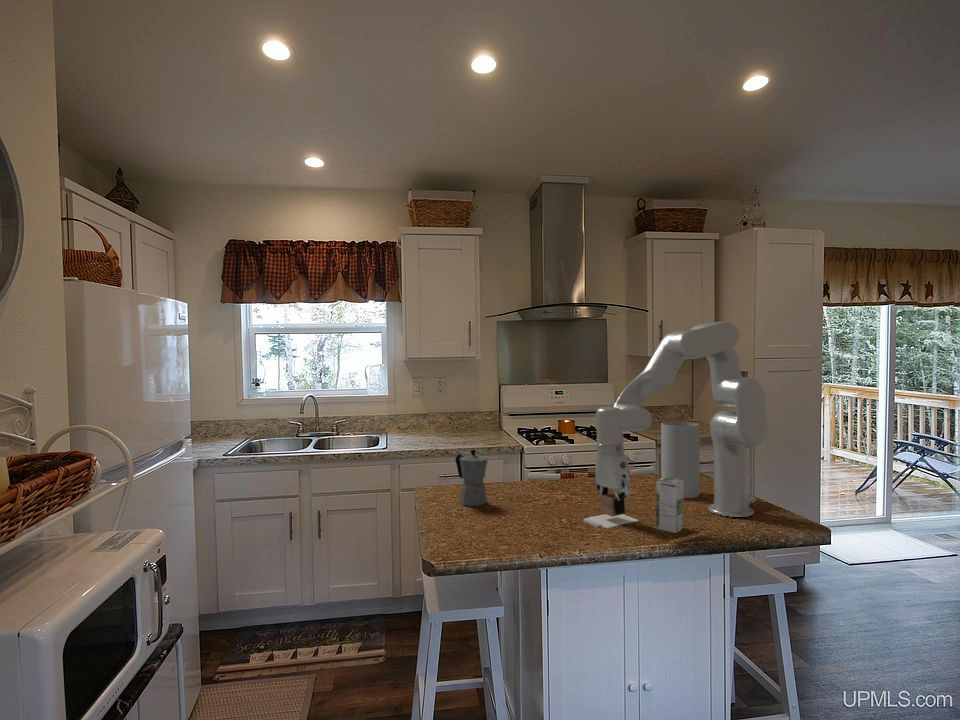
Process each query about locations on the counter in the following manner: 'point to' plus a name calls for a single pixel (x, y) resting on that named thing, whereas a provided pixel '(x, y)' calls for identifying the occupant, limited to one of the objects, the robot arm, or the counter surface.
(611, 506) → the walnut block
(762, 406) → the robot arm
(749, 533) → the counter surface
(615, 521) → the clipboard
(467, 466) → the coffeepot
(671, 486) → the syrup box
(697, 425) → the cylinder vase
